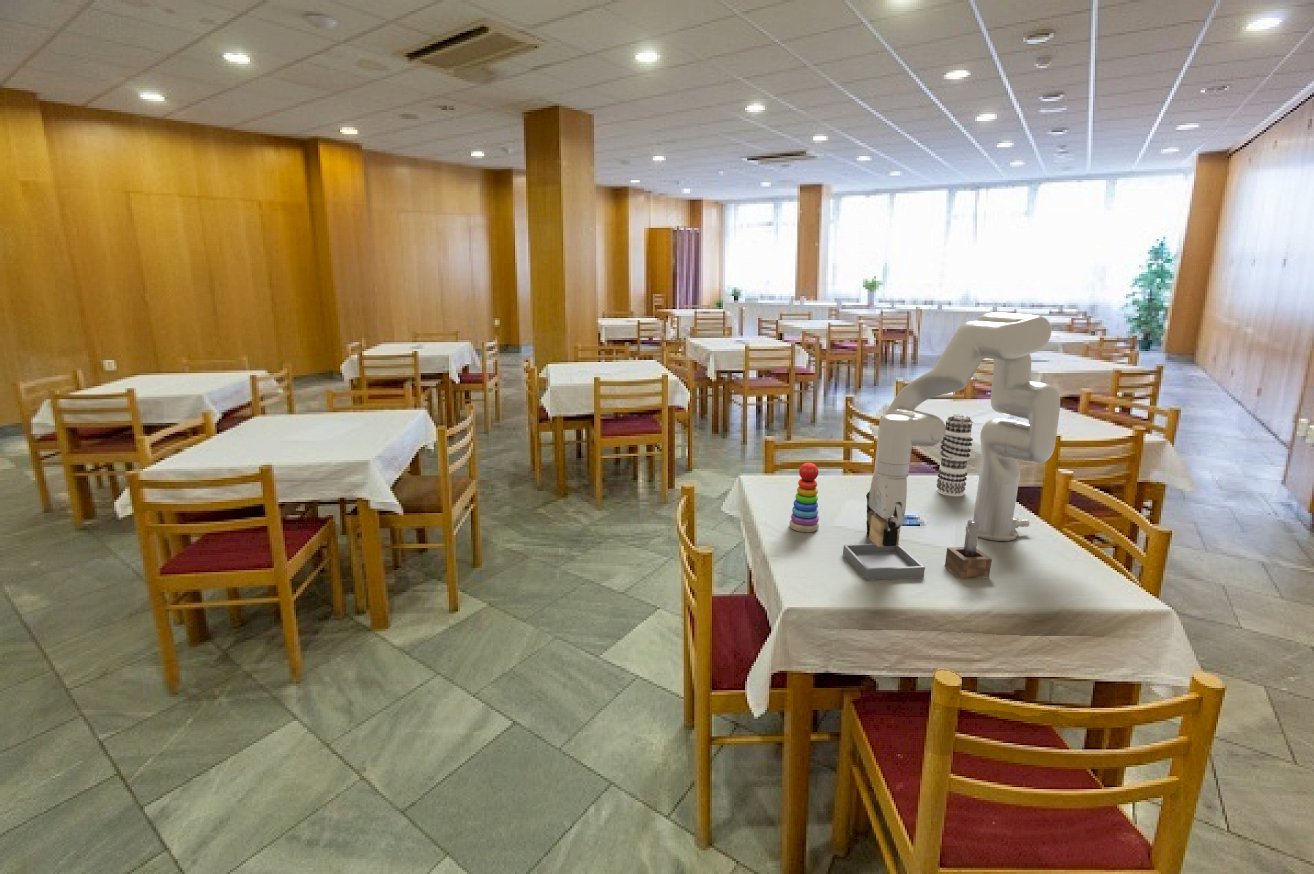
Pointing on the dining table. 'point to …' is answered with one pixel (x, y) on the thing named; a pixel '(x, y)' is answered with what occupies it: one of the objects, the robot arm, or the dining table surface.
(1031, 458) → the robot arm
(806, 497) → the stacking toy
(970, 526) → the cylinder
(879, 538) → the oak block
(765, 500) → the dining table surface
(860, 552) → the tray
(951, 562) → the go block
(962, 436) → the decorative candle
